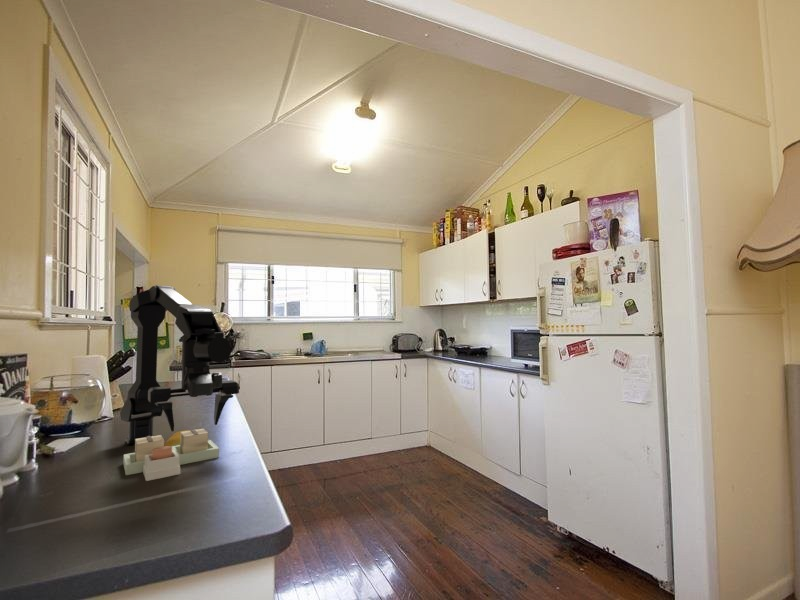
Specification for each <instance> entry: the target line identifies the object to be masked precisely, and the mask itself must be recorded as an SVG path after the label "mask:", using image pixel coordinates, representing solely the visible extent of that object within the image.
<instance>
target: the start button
mask: <svg viewBox="0 0 800 600" xmlns="http://www.w3.org/2000/svg"><path fill="white" fill-rule="evenodd" d="M169 457H172V447H171V446H162V447H157V448H154V449H152V461H153V460H158V459H164V458H169Z"/></svg>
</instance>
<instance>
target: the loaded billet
mask: <svg viewBox="0 0 800 600" xmlns="http://www.w3.org/2000/svg"><path fill="white" fill-rule="evenodd" d="M164 444H165V439H164V437H163V436H162V434H159V435H154V436H146V437H145V438H138V439H135V444H134V453H135V462H139V461H145V455H150V454H152V449H154V448H157V447H162V446H164Z"/></svg>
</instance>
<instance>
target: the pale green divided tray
mask: <svg viewBox="0 0 800 600" xmlns="http://www.w3.org/2000/svg"><path fill="white" fill-rule="evenodd" d="M171 447H172V451H173V450H175V451H176V452H177V454H178V455H179V465H180V466H181V465H185V464H190V463H195V462H196V463H197V462H201V461H207V460H212V459H216V458H220V447H218V445H217V444H216V443H214V442H213V440H211V439H208V449H205V450H200V451H194V452H189V453H183V454H180V445H177V446H171ZM122 461H123V463H122V464H123V468H124V474H125V476H129V475H135V474H139V473H143V465H145V461H139V462H135V452H130V453H125V454H123V460H122Z"/></svg>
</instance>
